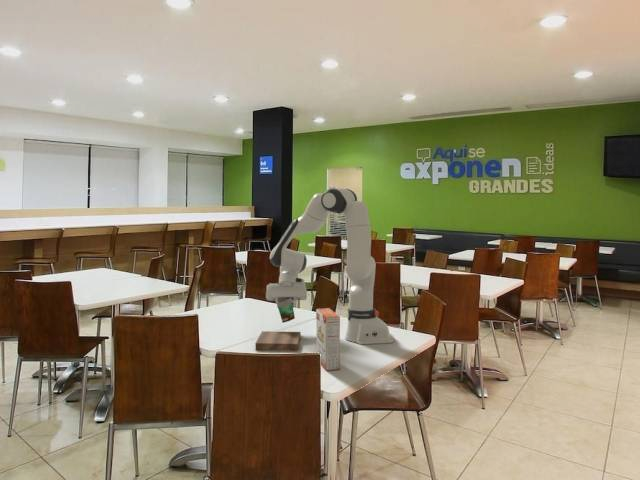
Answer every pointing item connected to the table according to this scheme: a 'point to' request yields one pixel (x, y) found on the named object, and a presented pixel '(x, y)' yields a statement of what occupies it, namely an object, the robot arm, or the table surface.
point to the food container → (286, 310)
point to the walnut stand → (278, 341)
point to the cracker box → (328, 338)
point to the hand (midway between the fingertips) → (285, 306)
